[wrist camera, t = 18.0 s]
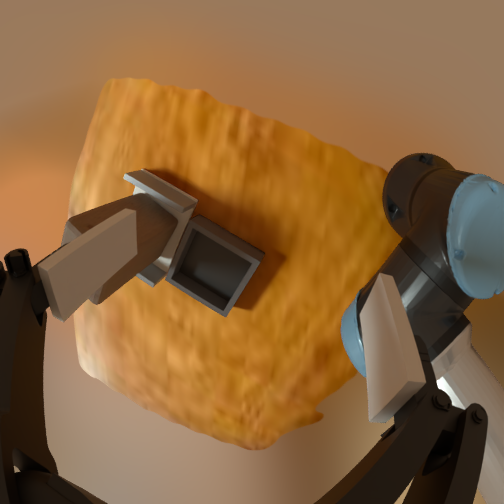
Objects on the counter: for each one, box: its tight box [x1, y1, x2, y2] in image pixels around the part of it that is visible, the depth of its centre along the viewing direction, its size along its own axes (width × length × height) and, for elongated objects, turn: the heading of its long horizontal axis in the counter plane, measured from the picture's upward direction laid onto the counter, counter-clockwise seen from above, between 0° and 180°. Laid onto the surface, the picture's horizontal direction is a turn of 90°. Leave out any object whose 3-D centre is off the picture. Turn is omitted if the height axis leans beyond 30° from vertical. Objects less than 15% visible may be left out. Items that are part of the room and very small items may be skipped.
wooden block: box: [61, 193, 178, 305], centre depth 42 cm, size 10×10×20 cm
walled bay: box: [124, 169, 198, 287], centre depth 49 cm, size 13×18×6 cm
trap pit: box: [165, 214, 265, 317], centre depth 49 cm, size 14×14×4 cm
